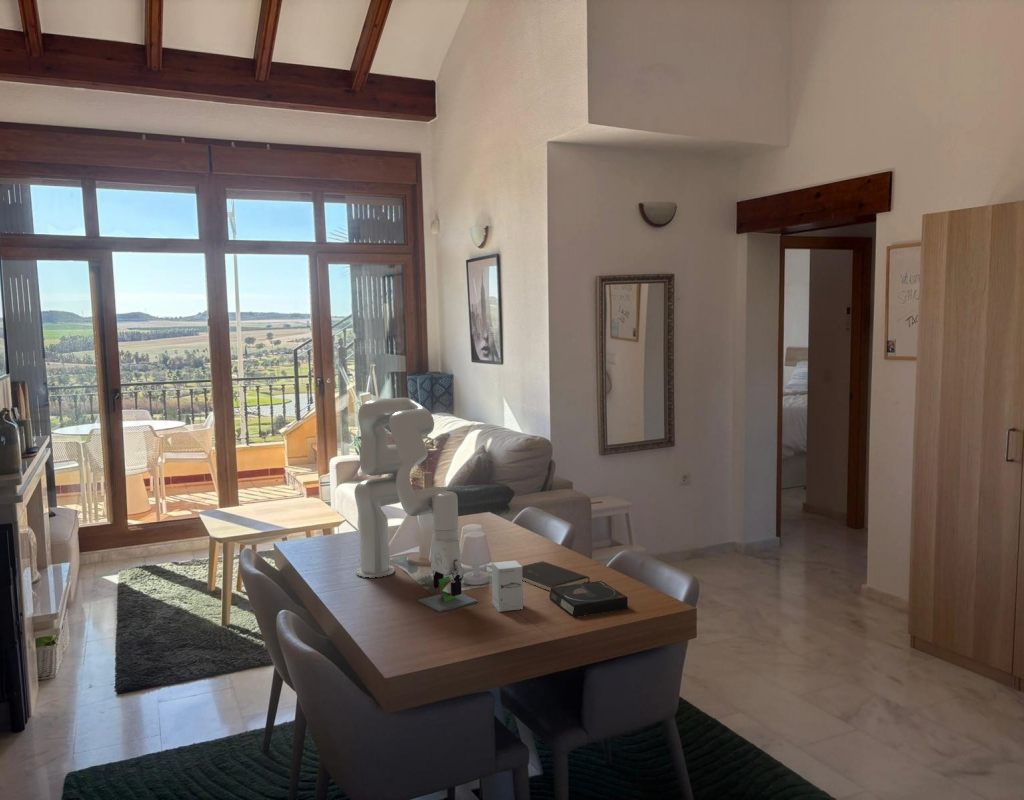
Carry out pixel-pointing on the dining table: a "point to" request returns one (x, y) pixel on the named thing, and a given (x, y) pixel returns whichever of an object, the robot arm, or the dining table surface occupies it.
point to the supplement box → (507, 585)
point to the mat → (447, 602)
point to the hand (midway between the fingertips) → (447, 591)
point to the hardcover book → (550, 575)
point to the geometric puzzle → (445, 589)
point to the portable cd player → (588, 598)
